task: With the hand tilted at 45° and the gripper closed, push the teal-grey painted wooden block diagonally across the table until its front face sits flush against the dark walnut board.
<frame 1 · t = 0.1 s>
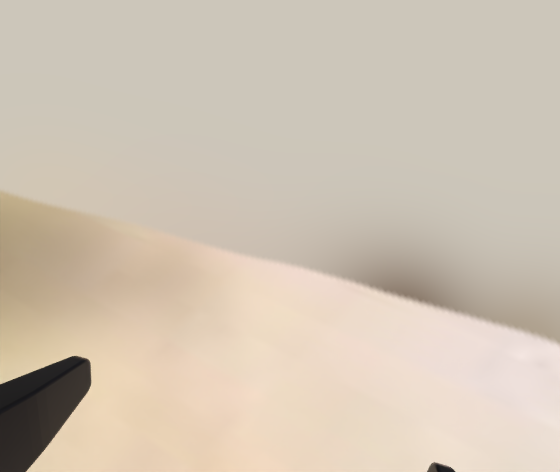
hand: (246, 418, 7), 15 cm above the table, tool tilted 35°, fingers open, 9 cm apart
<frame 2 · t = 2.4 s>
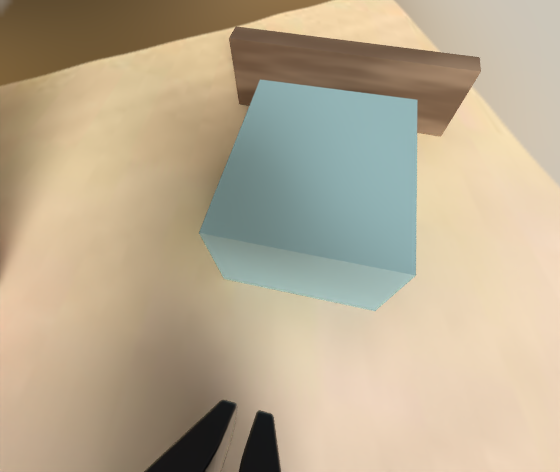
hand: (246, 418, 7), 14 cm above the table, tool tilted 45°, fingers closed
block: (312, 220, 26), on the table
board: (337, 113, 32), on the table
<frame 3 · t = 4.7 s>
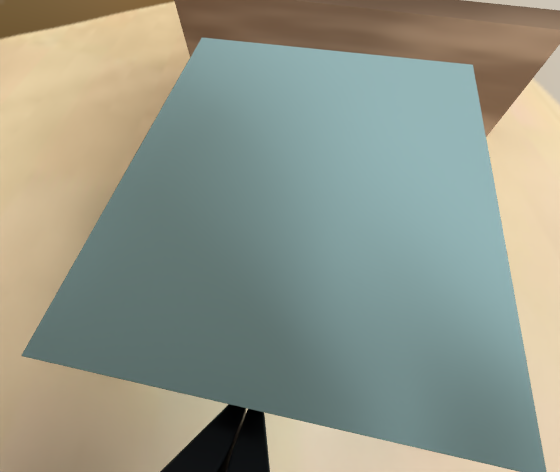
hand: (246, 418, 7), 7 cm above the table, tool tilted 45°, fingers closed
block: (297, 263, 17), on the table, touching gripper
board: (336, 104, 23), on the table
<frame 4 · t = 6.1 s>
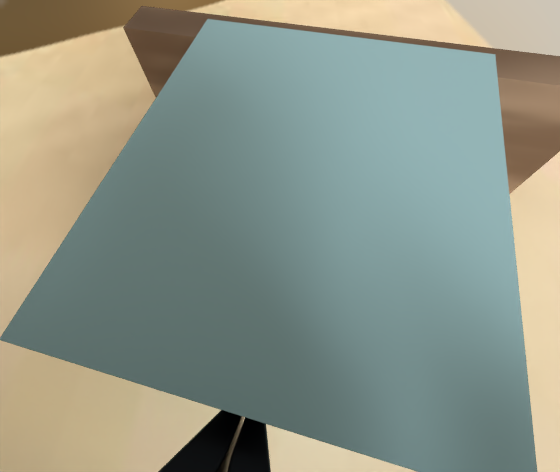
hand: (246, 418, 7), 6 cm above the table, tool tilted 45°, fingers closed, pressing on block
block: (298, 258, 16), on the table, touching board, gripper
board: (329, 151, 20), on the table
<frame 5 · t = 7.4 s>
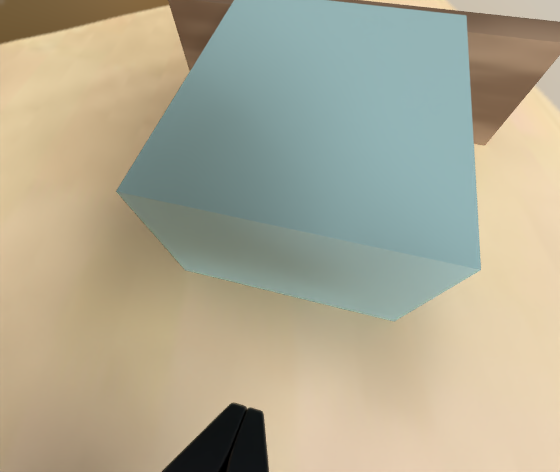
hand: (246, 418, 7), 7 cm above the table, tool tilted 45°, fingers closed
block: (309, 195, 20), on the table
board: (334, 111, 23), on the table
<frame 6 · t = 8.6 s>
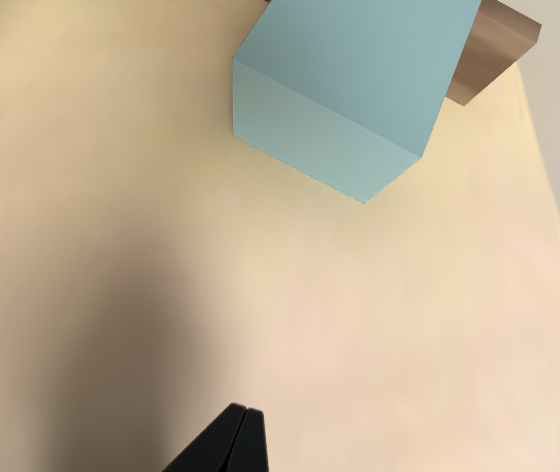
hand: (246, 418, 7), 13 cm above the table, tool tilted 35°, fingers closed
block: (330, 108, 26), on the table
board: (366, 44, 28), on the table
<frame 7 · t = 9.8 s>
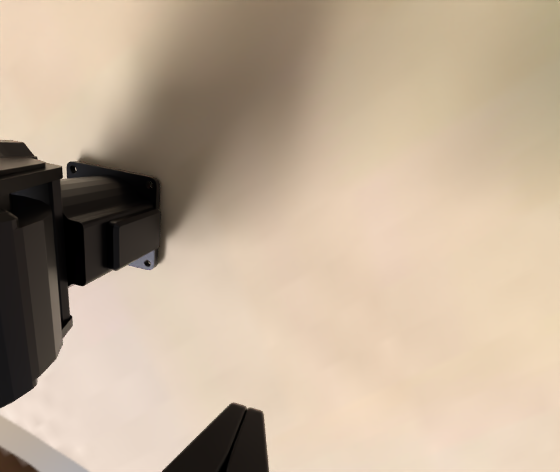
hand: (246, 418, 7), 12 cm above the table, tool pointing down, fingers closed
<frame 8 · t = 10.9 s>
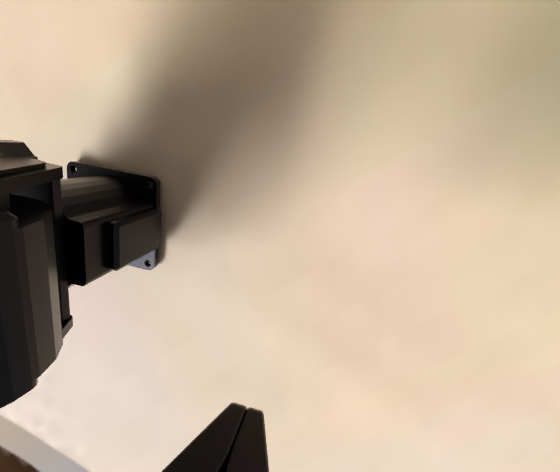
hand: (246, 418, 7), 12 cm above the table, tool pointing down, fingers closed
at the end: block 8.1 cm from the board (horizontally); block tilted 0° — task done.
